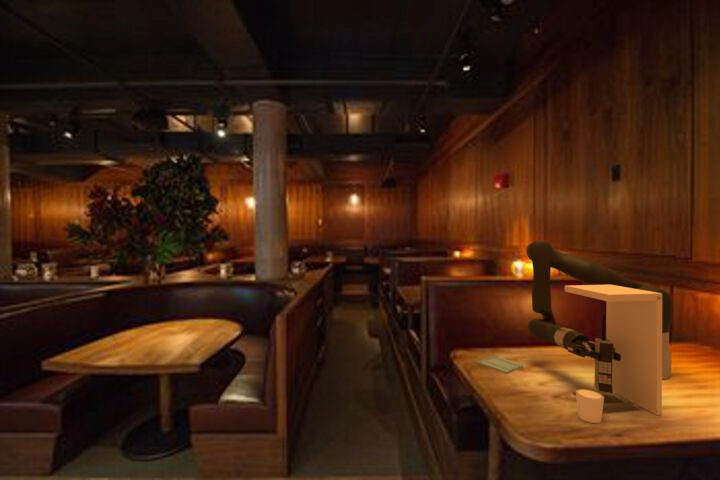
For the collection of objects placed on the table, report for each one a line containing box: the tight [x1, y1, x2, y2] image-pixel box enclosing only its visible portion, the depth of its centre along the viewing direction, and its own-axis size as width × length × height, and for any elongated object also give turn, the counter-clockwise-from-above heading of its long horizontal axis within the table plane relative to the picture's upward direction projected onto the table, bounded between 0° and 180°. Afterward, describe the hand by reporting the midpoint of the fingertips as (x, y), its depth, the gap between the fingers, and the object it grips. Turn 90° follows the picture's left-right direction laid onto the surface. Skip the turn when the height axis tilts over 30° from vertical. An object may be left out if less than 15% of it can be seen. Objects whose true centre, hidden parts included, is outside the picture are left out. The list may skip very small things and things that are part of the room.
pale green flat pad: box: [476, 355, 524, 375], centre depth 138 cm, size 14×12×1 cm
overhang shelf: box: [564, 284, 663, 416], centre depth 107 cm, size 17×18×36 cm
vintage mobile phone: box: [594, 313, 614, 396], centre depth 107 cm, size 4×5×25 cm
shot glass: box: [575, 388, 604, 424], centre depth 98 cm, size 7×7×7 cm
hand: (610, 358), depth 104 cm, fingers closed on vintage mobile phone, 5 cm apart
